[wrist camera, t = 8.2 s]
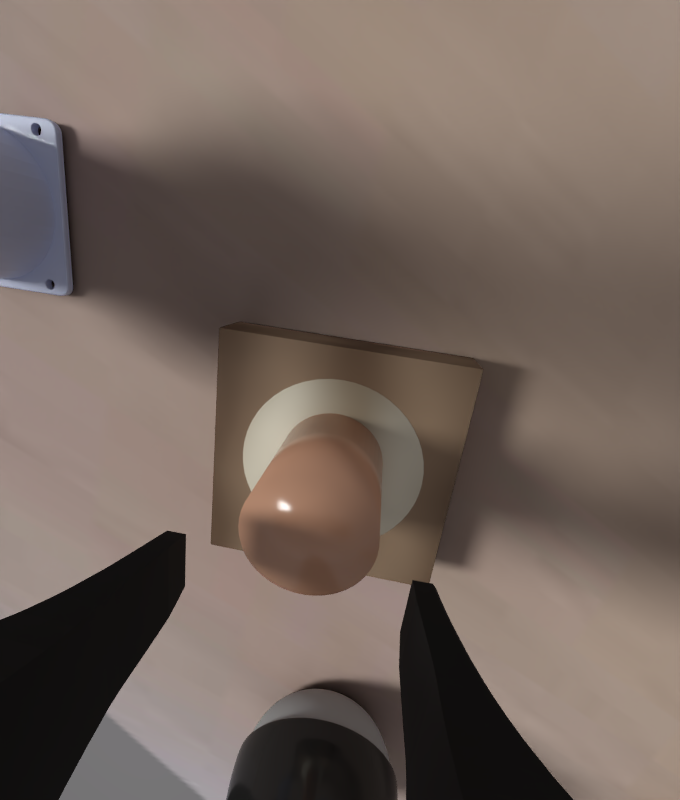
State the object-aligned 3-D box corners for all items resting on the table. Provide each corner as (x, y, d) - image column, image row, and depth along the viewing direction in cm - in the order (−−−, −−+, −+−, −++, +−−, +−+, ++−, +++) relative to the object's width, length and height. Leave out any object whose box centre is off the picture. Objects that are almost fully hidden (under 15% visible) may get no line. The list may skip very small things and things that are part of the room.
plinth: (228, 518, 25) (210, 544, 22) (239, 321, 21) (218, 327, 18) (424, 556, 24) (427, 588, 21) (472, 358, 20) (483, 369, 17)
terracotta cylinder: (279, 498, 21) (237, 583, 15) (284, 407, 19) (239, 462, 13) (376, 513, 20) (370, 605, 15) (388, 420, 19) (388, 483, 13)
